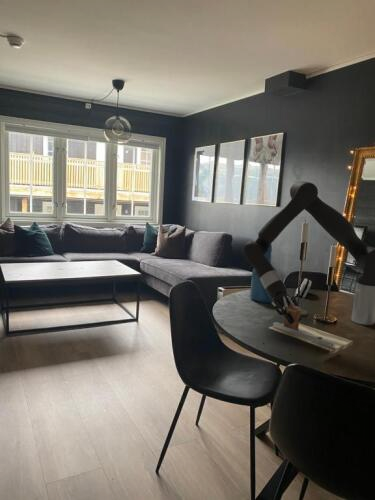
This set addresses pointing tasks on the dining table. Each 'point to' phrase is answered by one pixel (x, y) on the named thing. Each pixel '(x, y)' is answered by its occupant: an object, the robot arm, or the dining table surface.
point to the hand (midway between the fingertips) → (296, 322)
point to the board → (339, 341)
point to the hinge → (304, 288)
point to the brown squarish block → (295, 314)
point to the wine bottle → (260, 284)
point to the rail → (304, 335)
